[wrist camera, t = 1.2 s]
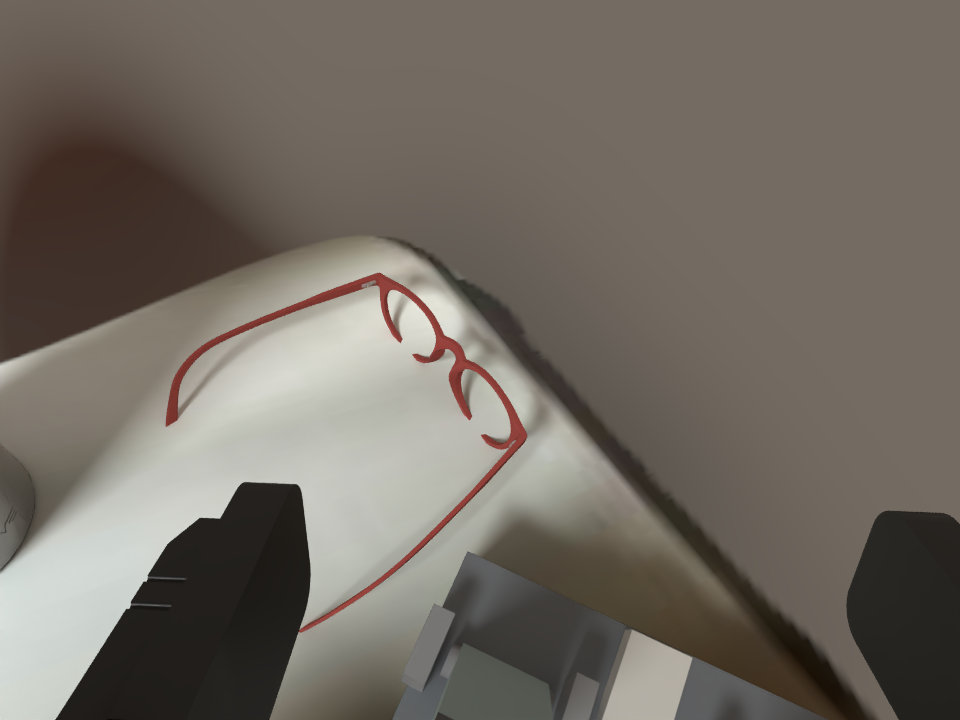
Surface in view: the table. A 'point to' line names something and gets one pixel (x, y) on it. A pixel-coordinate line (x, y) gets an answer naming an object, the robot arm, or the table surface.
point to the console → (574, 657)
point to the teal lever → (490, 689)
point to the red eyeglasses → (442, 343)
